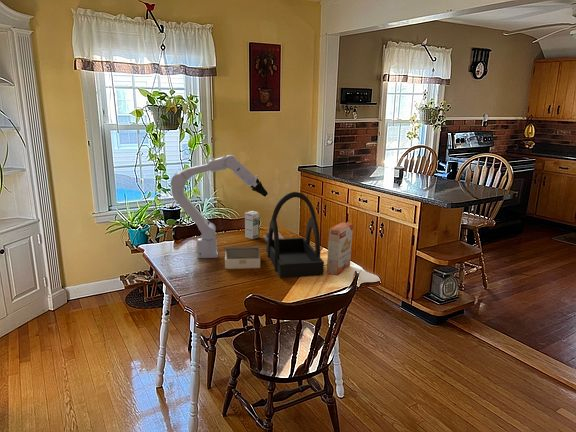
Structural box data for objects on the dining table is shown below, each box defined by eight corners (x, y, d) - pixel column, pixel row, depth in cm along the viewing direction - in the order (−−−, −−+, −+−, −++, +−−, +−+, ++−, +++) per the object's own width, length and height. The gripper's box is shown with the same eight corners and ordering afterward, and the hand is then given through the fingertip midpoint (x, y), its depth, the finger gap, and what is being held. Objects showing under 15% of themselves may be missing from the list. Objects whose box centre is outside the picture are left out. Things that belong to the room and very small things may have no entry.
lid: (224, 248, 195) (224, 247, 195) (224, 249, 209) (224, 247, 209) (260, 248, 197) (260, 246, 197) (259, 248, 211) (259, 247, 211)
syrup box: (252, 239, 239) (252, 214, 235) (244, 237, 242) (244, 212, 239) (259, 237, 243) (259, 212, 240) (251, 235, 247) (251, 210, 243)
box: (225, 269, 197) (224, 259, 196) (225, 257, 211) (225, 249, 209) (260, 268, 199) (260, 259, 197) (258, 257, 212) (258, 248, 211)
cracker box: (338, 275, 192) (340, 230, 187) (326, 272, 195) (328, 228, 190) (351, 266, 204) (353, 223, 198) (339, 263, 207) (341, 221, 201)
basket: (264, 251, 221) (265, 185, 212) (305, 249, 225) (307, 184, 216) (278, 278, 188) (279, 201, 179) (324, 275, 193) (328, 199, 184)
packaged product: (262, 229, 243) (280, 228, 245) (262, 237, 244) (279, 236, 246) (269, 239, 226) (288, 238, 228) (269, 248, 227) (288, 247, 230)
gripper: (252, 170, 198) (273, 189, 202) (249, 167, 212) (269, 185, 216) (241, 181, 198) (263, 201, 202) (239, 177, 212) (259, 196, 216)
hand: (265, 193), depth 209 cm, fingers open, 7 cm apart
